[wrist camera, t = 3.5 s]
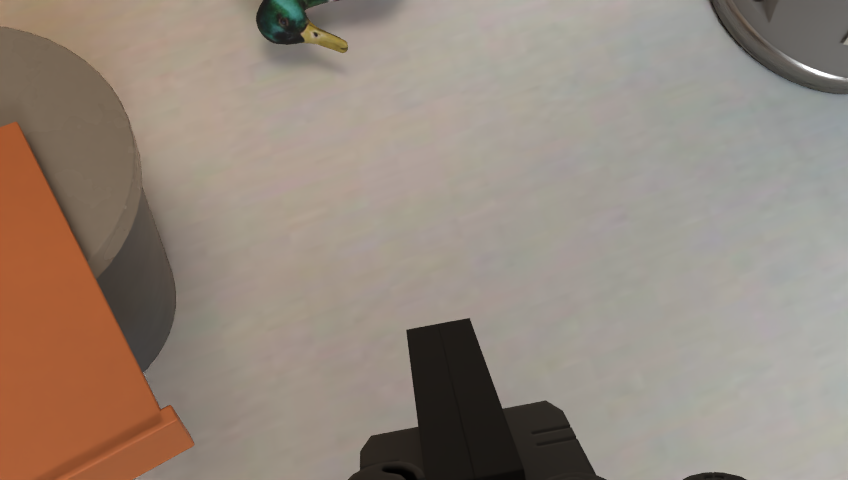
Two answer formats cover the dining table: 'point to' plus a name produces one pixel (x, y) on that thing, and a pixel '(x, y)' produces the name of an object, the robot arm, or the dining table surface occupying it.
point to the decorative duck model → (294, 24)
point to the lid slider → (65, 349)
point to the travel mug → (92, 179)
